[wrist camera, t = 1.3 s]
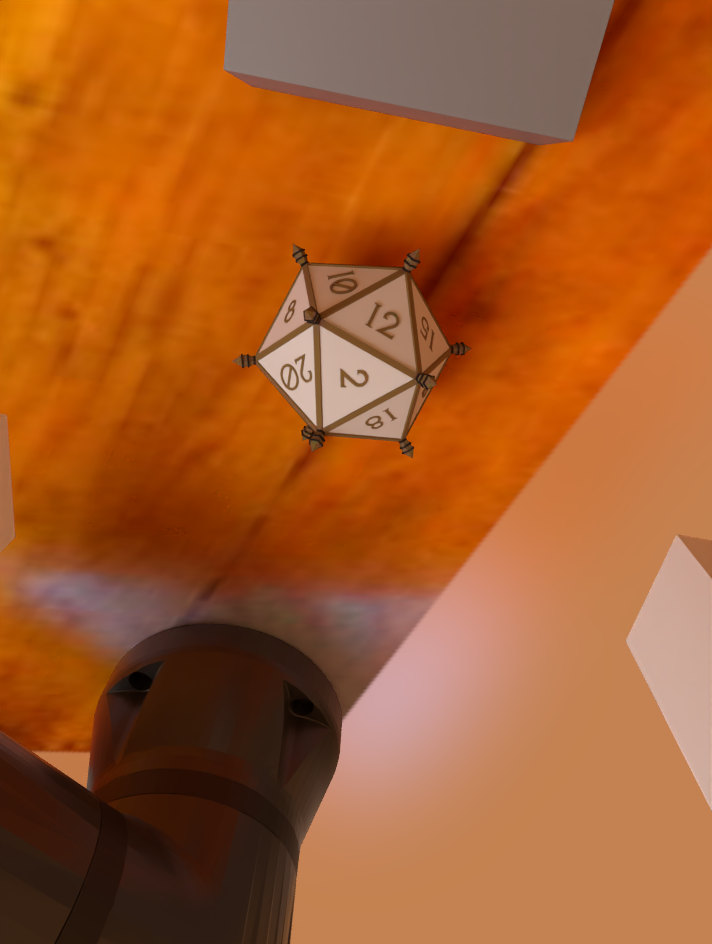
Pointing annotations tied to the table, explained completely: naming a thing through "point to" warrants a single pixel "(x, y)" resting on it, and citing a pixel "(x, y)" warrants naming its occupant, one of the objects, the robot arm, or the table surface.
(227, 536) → the table surface
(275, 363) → the game die
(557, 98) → the gray block
